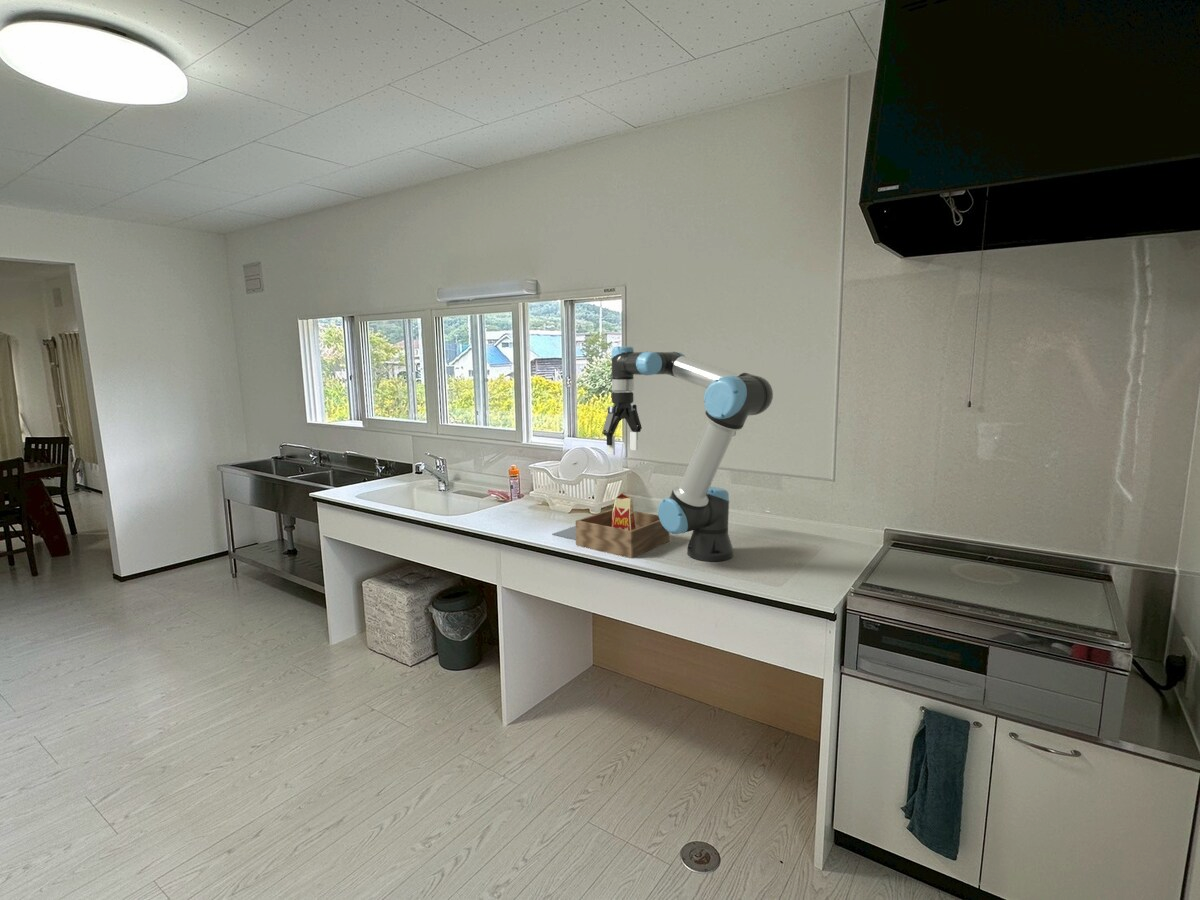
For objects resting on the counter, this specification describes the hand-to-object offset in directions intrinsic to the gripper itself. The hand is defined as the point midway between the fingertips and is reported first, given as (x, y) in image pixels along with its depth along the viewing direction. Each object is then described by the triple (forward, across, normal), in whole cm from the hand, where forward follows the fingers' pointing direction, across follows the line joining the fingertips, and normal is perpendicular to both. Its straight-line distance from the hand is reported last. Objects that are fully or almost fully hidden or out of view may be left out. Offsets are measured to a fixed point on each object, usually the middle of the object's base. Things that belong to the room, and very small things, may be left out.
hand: (622, 452), depth 215 cm
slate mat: (+33, 0, -21) cm, 39 cm away
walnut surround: (+33, 0, 0) cm, 33 cm away
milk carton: (+33, 0, 0) cm, 33 cm away
